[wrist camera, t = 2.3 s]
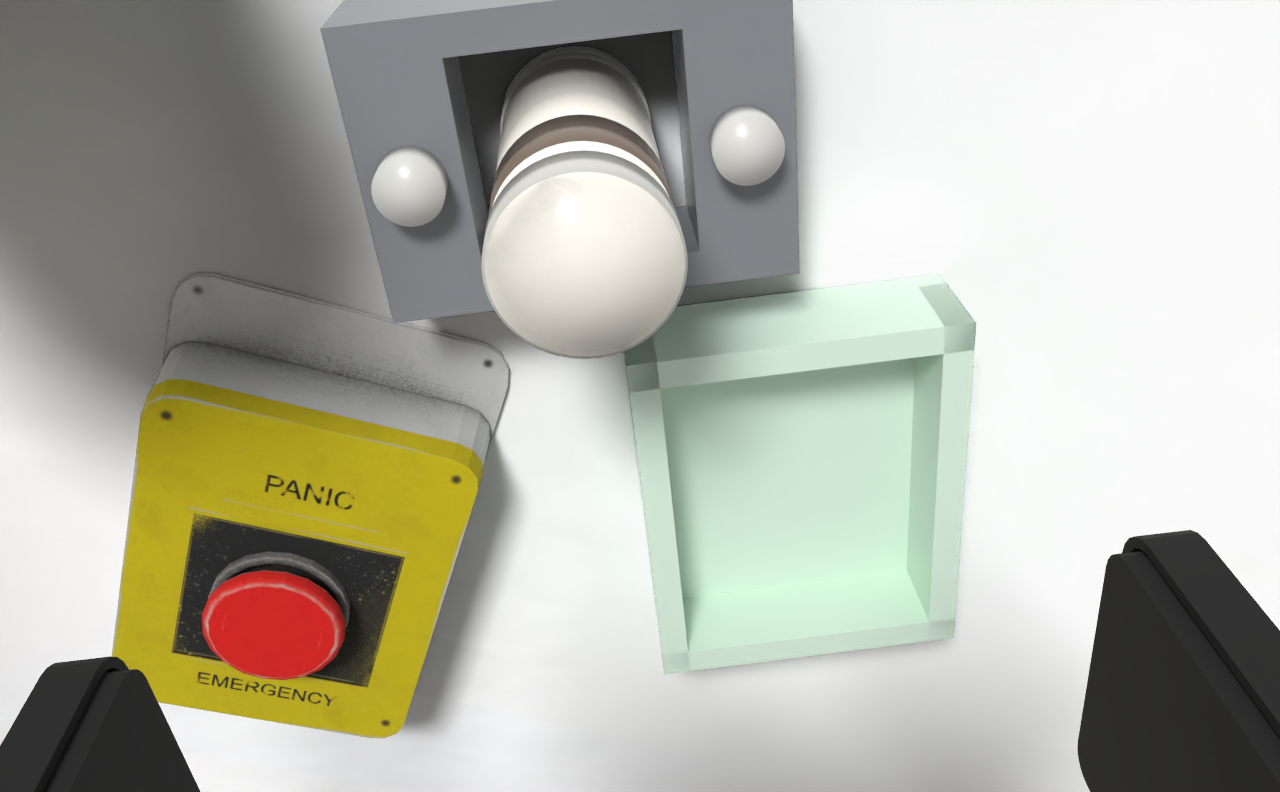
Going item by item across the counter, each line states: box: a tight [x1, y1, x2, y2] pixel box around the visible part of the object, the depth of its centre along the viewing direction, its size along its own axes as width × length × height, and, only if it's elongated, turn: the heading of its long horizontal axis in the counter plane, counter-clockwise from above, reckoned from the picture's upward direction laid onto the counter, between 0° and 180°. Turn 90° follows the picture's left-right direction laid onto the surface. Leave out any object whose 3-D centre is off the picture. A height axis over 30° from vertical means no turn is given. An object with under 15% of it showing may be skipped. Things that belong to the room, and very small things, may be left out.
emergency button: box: [112, 274, 509, 738], centre depth 31 cm, size 9×4×15 cm
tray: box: [624, 274, 976, 674], centre depth 31 cm, size 11×9×3 cm
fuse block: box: [320, 0, 799, 323], centre depth 25 cm, size 7×10×4 cm
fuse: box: [481, 46, 688, 359], centre depth 23 cm, size 4×4×9 cm
